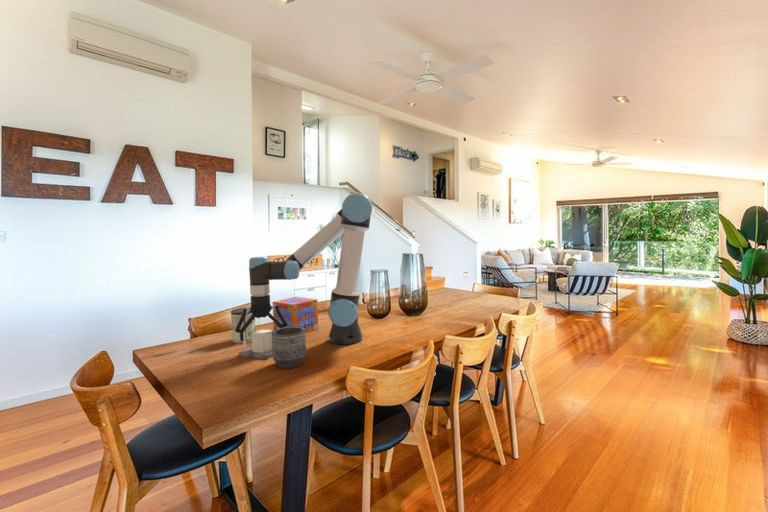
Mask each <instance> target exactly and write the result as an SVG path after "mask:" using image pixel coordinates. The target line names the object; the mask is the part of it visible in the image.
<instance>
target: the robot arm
mask: <svg viewBox="0 0 768 512" xmlns="http://www.w3.org/2000/svg"><path fill="white" fill-rule="evenodd" d="M341 205H342V206H341V209H340V210H339V211H338V212H336V216H335V217H334V218H333V219H332V220H330V221H329V222H328V223H327V224H326V225H324V227H322V228H321V229H320V230H319V231H318V232H316V233H315V234H314V235H313V236H312V237H310V238H309V239H308V240H307V241H306V242H304V244H302V245H301V246H300V247H299V248H298V249H297V250H295V251H294V252H293V253H292V254H291V255H289V256H288V257H287V258H286V259H285V260H282V261H281V260H280V261H279V260H277V261H271V260H269V257H268V256H253V257H250V258H249V260H248V263H249V265H248V273H249V287H250V288H249V290H250V291H249V292H250V295H251V296H250V307H242V308H243V313H242V315H241V317H240V320H239V322H238V324H237V326H236V328H235V332H238V333H240V340H241V341H243V343H242V344H243V350H245V349H247V342H246V336H245V332H244V331H245V330H246V328H247V327H248V326H249V324H250V323H251V322H252V321H253V320H254V318H255V319H256V318H257V319H259V318H266V317H268V318H269V319H270V320H271V321H272V322H273V321H274V322H275V323H276V324H277V325H278V326H279V327H278V328H277V329H279V328H283V327H285V326H287V323H286V321H285V320H284V318H283V316H282V315H281V313H280V311H279V307H278V305H277V304H276V305H274V306H273V305H271V295H270V292H271V290H270V289H271V288H270V281H273V280H274V281H279V280H280V281H281V280H282V281H283V280H289V281H290V280H297V279H299V276H300V271H301V270H302V269H303V268H304V267H305V266H307V264H309V263H310V262H312V260H314V259H315V258H316V257H317V256H319V254H320V253H322V252H323V251H324V250H325V249H327V248H328V247H329V246H330V245H332V244H333V242H335V241H336V240H337V239H338V238H339V237H341V236H342V241H341V248H340V255H339V262H338V263H339V264H338V270H337V271H338V272H337V276H336V277H337V278H336V285H335V287H334V288H333V289H331V293H330V301H329V306H328V309H327V314H328V317H329V320H330V321H331V323H332V324H331V327H330V330H329V334H328V341H329V343H331V344H335V345H351V344H356V343H359V342H361V341H362V340H363V332H362V330H361V329H362V328H361V326H360V323H359V302H360V296H361V293H360V292H359V291H358V283H359V276H360V270H361V269H360V268H361V261H362V254H363V246H364V240H365V235H366V232H367V231H368V230H369V229H370V223H371V218H372V217H371V216H372V213H373V203H372V201H371V199H370V198H369V197H368V196H367V195H365V194H364V193H360V192H355V193H354V192H353V193H351V194H349V195H347V196H346V197H345V199H344V200H343V202H342V204H341ZM273 310H274V311H276V313H277V314H278V316H279V318H280V319H281V321H282V323H283V324H280V323H279V322H278V321H277V320H276V319H275V318H274V317H273V314H271V311H273ZM249 311H250V312H251V313H252V315H251V316H250V318H249V319H248V320H247V322H246V323H245V324H244V325H243V327H242V328H241V329H240V327H241V325H242V322H243V320H244V318H245V316H246V314H247V313H248V312H249ZM274 322H273V323H274Z"/></svg>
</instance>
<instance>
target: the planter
mask: <svg viewBox="0 0 768 512" xmlns="http://www.w3.org/2000/svg"><path fill="white" fill-rule="evenodd" d="M306 340H307V339H306V333H305V329H304V328H302V327H283V328H279V329H276V330H274V329H273V330H272V355H273V357H272V359H273V360H274V362H275V364H276V365H277V366H278V367H279V368H281V369H293V368H296V367H299V366H301V365H302V363H303V361H304V360H305V357H306V355H307V346H306V345H307V341H306Z"/></svg>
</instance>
